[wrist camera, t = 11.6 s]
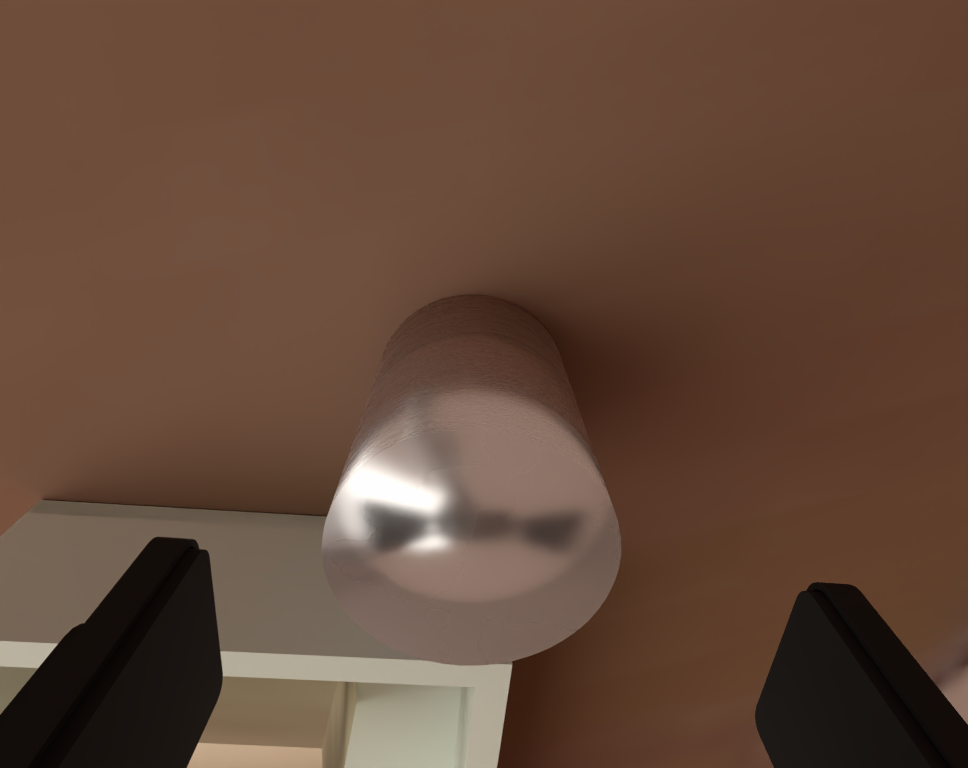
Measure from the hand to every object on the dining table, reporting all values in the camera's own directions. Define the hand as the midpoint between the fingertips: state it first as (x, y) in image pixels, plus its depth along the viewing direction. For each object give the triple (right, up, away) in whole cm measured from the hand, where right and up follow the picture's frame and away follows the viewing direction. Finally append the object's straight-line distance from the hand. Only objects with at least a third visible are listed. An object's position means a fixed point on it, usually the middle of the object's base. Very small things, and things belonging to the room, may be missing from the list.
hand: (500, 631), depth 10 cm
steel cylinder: (-1, +4, +7) cm, 8 cm away
